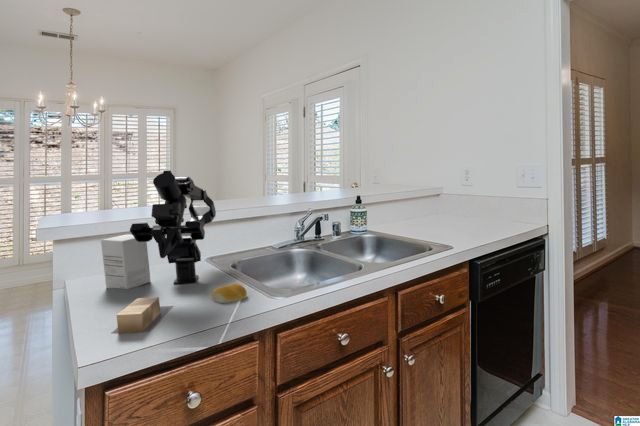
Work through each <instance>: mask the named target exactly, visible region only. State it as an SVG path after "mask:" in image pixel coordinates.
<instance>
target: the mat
mask: <svg viewBox="0 0 640 426" xmlns="http://www.w3.org/2000/svg"><path fill="white" fill-rule="evenodd" d="M173 307H174V305H166V306H165V305H163V306H160V314H159V315H158V316H157V317H156V318H155V319H154V320H153V321H152V322H151V323H150V325H149V326H148V327H147V328H146V329H145V330H144V331H143V332H142V333H149V332H150V331H152V329H154V327H156V325H157V324H158V323H159V322H160V321H161V320H162V319H163V318H164V317H165V316H166V315H167V313H168V312H169V311H171V309H173ZM129 333H131V334H132V332H128V334H129ZM111 334H119V333H118V327H117V328H115V329H114V330H113V331H112V332H111Z"/></svg>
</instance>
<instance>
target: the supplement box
mask: <svg viewBox="0 0 640 426" xmlns="http://www.w3.org/2000/svg"><path fill="white" fill-rule="evenodd" d="M100 244H101V252H102V253H101V254H102V263H103V271H104V278H105V287H106V289H122V290H130V289H132V288H136V287H138V288H139V286H143V285H145V284H146V285H147V284H148V283H150V282H151V273H150V272H151V271H150V262H149V252H148V251H149V250H148V242H138V241H136V239H135V238H134V236H133V235H132V234H130V233H129V234H128V233H127V234H123V235H117V236H112V237H108V238H104V239H101V240H100Z"/></svg>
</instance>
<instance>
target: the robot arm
mask: <svg viewBox="0 0 640 426" xmlns="http://www.w3.org/2000/svg"><path fill="white" fill-rule="evenodd" d="M152 183H153V185H154V187H155V189H156V191H157V193H158V195H159V197H160V198H161V200H162V201H164V203H156V204H155V203H154V204H152V207H151V218H153V219H154V222H155V224H156V225H152V227H150V225H149V223H148V222H133V223H131V225H130V228H129V232H130V233H131V235H133V236H134V238H135V239H136V241H138V242H147V243H148V242H151V240H153V239H154V241H155V242H156V243H157V246H158V252H159V257H160V259H165V258H166V257H167V261H168V264H175V265H174V266H175V276H176V278H175V280H174V281H173V285H175V284H176V285H177V284H188V283H189V284H190V283H196V282H197V281H198V279H199V275H198V274H197V273H196V263H198V262H201V261H202V259H201V255H202V254H201V251H200V249H199V246H198V244H197V242H196V241H198V240H199V241H202V240H204V239H205V235H206V233H205V232H206V231H205V229H204V227H205V226H206V225H207V224H210V223H212V221H213V220H214V219H215V218H216V215H217V214H216V213H217V212H216V207H215V203H214V201H213V200H212V199H211V197H209V196H208V194H207V190H206V189H204V188H201V187H199V186H197V185H196V184H195V183H194V181H193V179H192V178H191V177H190V176H179V177H178V176H177V177H175V175H174V174H173V172H172V170H163V172H162V173H160V174H158V175H157V176H156V177H154V178H153V181H152ZM187 198H188V199H190V203H189V206H188V205H187ZM194 201H203V203H205V205H204V204H202V205H194V204H193V202H194ZM187 208H188V211H189V214H190V217H191V219H190V220H187V221H185V219H184V213H185V210H186V209H187ZM184 221H185V223H184ZM183 223H184V224H185V225H182V224H183Z"/></svg>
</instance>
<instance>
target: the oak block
mask: <svg viewBox="0 0 640 426" xmlns="http://www.w3.org/2000/svg"><path fill="white" fill-rule="evenodd" d="M160 305H161V303H160V297H158V296H157V297H156V296H155V297H138V298H136V299H135V300H133V301H132V302H131V303H130V304H129V305H127V306H126V307H125V308H124V309H122V310H121V311H119V312H118V313H117V314H116V321H117V328H118V333H117V334H127V333H128V332H131V333H144V332H143V331H144V330H145V329H146V328H147V327H148V326H149V325H150V323H151V322H152V321H153V320H154V319H155V318H156V317H157V316H158V315H159V314H160V307H161V306H160ZM128 334H129V333H128Z"/></svg>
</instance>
